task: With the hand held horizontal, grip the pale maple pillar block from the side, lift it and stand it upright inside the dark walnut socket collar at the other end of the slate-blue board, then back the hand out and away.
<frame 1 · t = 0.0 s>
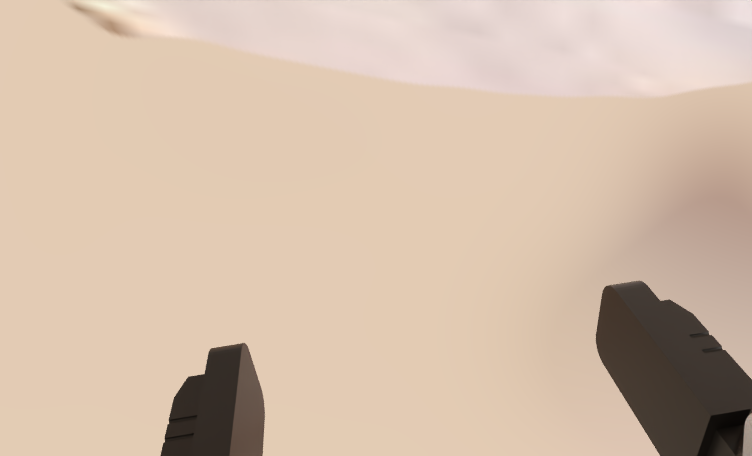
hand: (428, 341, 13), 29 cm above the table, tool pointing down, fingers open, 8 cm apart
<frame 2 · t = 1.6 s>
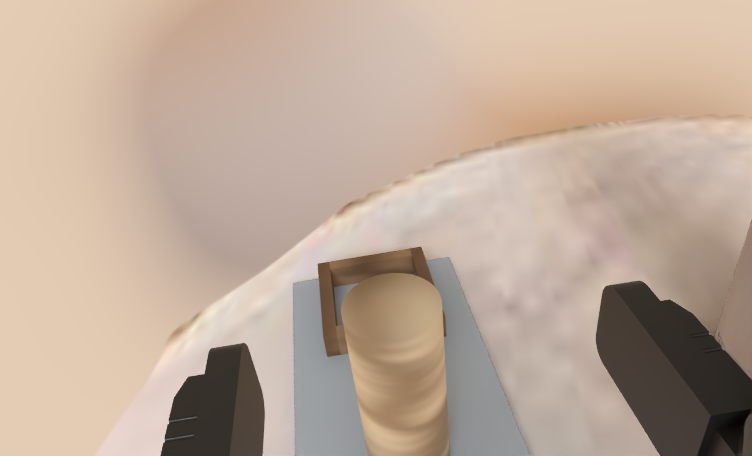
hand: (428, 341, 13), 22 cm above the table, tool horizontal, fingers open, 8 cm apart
socket collar: (380, 314, 46), resting on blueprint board
maple pillar: (408, 452, 34), point 1 cm above the table, touching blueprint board
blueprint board: (391, 369, 41), on the table
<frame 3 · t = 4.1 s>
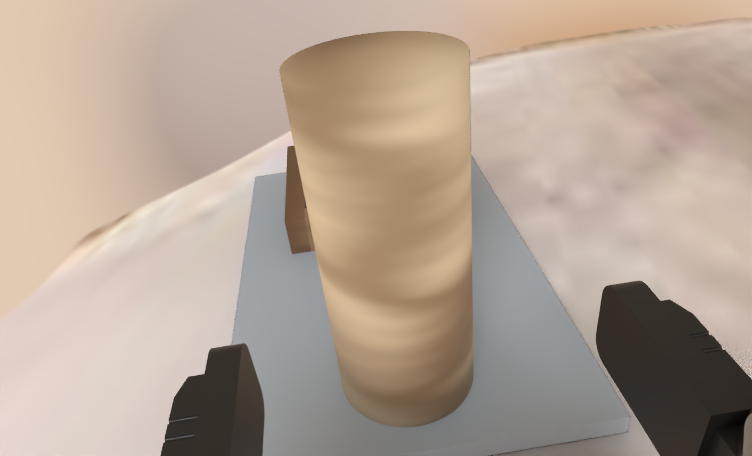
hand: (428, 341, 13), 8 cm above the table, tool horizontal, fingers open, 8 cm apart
socket collar: (371, 210, 33), resting on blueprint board
maple pillar: (406, 371, 21), point 1 cm above the table, touching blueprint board
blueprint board: (383, 270, 28), on the table
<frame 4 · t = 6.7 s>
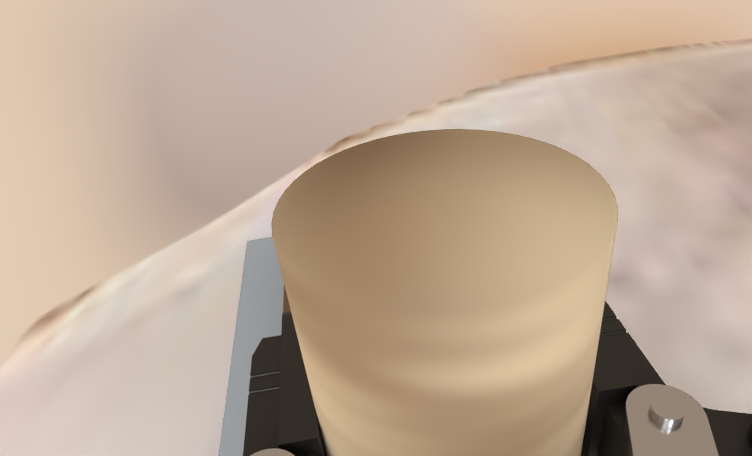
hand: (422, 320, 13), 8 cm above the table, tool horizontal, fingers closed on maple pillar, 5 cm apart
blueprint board: (411, 388, 22), on the table
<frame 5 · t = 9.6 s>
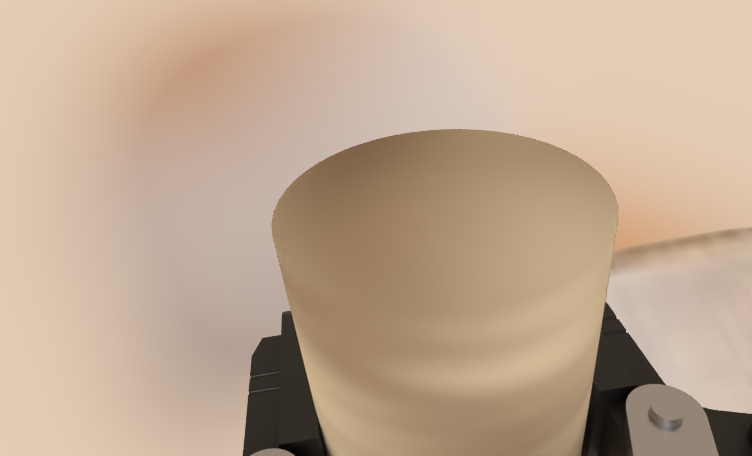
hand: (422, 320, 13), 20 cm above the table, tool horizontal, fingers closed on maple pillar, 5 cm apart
when the fingers open (9 cm above the table, at t = 13.0 s): maple pillar drops 1 cm, resting on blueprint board.
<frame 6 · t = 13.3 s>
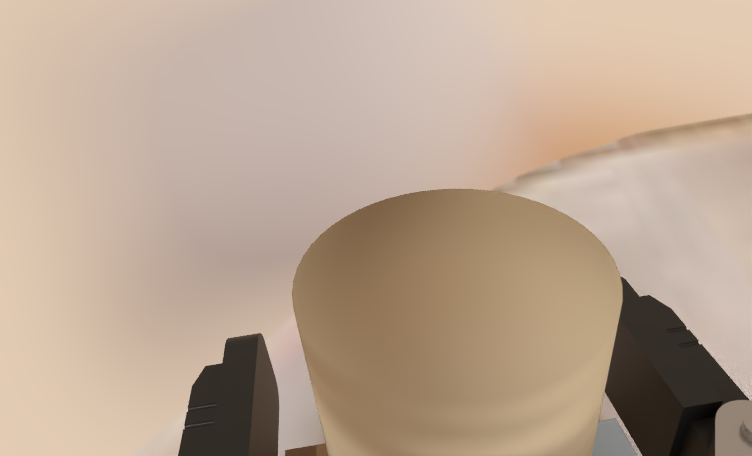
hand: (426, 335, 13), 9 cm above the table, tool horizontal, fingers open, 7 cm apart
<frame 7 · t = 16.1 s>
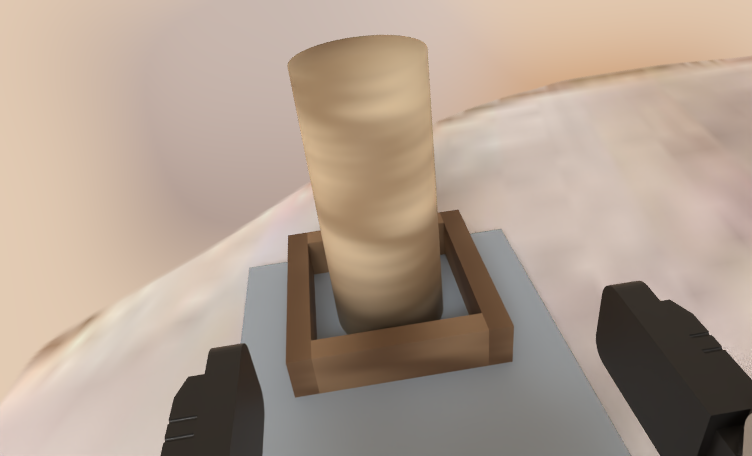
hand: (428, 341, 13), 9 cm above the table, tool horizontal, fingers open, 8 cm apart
socket collar: (390, 320, 27), resting on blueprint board
maple pillar: (390, 307, 27), point 1 cm above the table, touching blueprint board
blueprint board: (412, 422, 22), on the table
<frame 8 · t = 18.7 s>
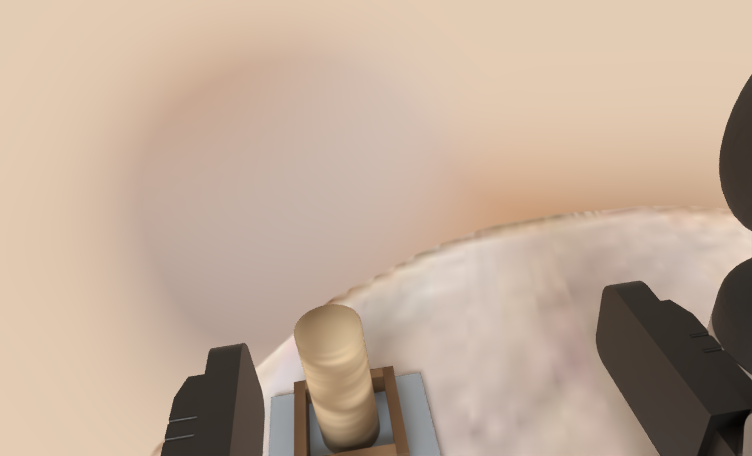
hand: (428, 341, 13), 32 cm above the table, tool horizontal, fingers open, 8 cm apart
socket collar: (351, 435, 48), resting on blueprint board
maple pillar: (350, 430, 48), point 1 cm above the table, touching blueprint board
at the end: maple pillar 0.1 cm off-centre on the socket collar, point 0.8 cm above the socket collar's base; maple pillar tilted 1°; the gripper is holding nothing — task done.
